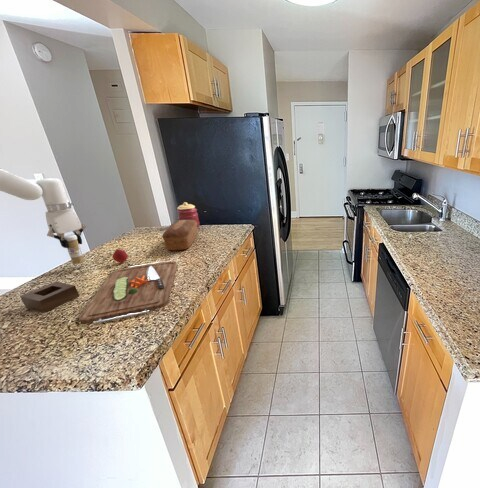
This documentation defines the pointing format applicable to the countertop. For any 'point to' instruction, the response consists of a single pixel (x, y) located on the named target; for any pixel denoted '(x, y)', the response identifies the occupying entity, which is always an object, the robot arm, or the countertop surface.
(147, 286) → the chopping board
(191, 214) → the kitchen canister
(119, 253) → the red rounded lump
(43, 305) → the spice block
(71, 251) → the sprinkles bottle
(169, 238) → the bread
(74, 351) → the countertop surface
